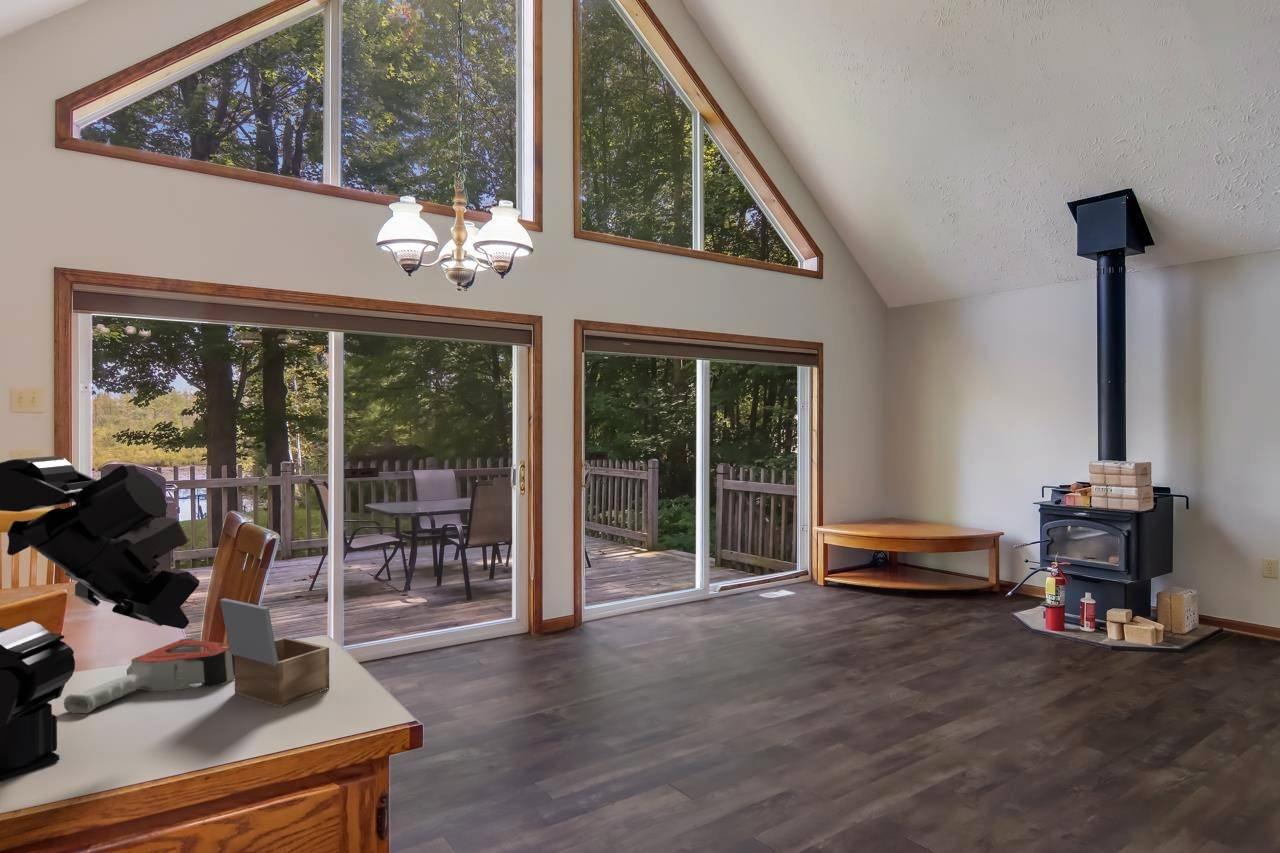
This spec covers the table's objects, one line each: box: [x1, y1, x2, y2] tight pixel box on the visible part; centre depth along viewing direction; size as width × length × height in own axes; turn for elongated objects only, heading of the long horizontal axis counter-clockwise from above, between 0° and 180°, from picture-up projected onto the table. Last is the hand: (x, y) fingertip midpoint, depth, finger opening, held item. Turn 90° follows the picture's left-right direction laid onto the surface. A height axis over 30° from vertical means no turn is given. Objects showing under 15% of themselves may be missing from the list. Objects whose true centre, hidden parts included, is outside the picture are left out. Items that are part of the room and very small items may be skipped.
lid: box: [220, 597, 278, 665], centre depth 106 cm, size 8×10×1 cm
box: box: [234, 637, 330, 708], centre depth 110 cm, size 8×10×6 cm
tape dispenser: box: [63, 637, 235, 714], centre depth 112 cm, size 18×5×20 cm
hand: (185, 625), depth 98 cm, fingers closed
